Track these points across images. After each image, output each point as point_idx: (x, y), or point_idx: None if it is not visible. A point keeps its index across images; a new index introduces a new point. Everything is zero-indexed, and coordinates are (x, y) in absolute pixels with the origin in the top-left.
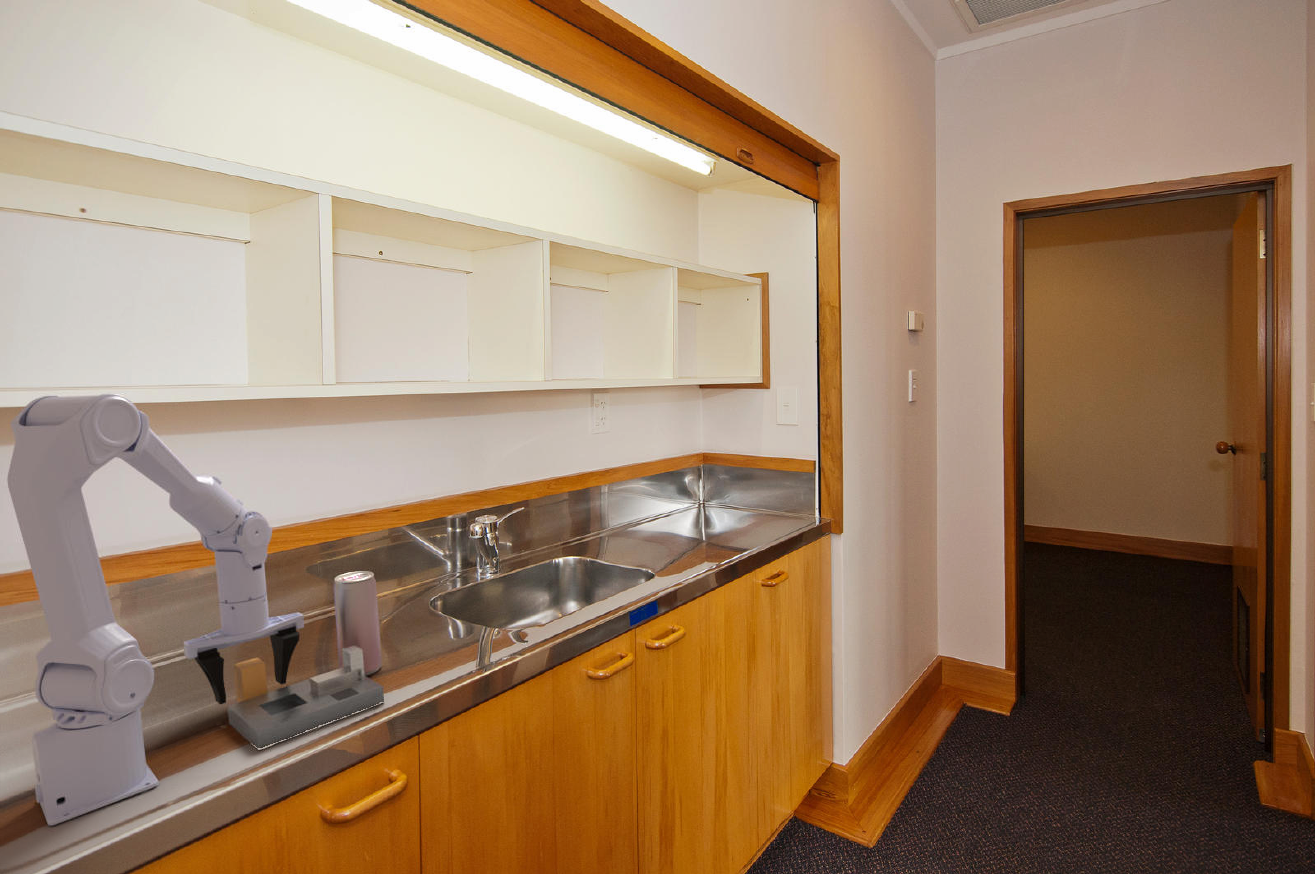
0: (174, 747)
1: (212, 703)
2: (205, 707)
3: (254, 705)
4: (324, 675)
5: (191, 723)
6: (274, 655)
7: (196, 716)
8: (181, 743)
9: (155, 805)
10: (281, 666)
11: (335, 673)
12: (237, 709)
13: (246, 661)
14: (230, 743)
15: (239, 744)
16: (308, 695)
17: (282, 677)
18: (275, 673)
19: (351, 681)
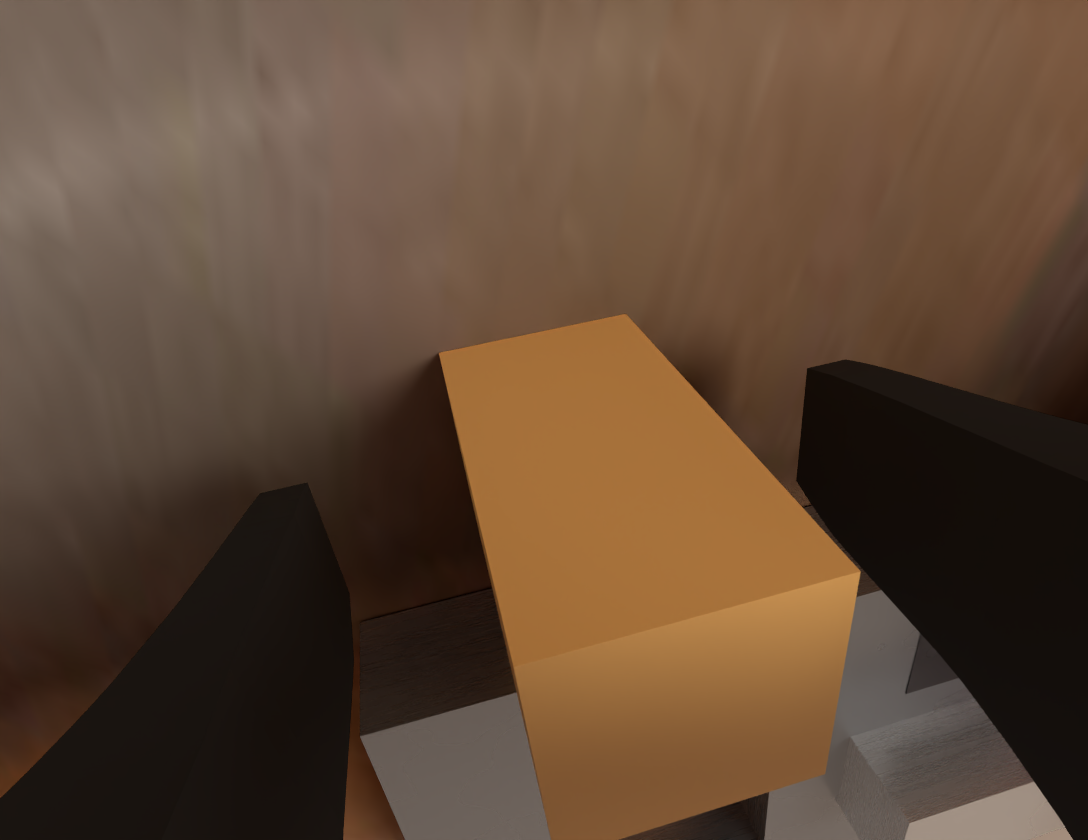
0: (26, 762)
1: (205, 103)
2: (137, 172)
3: (530, 792)
4: (979, 820)
5: (62, 478)
6: (1045, 496)
7: (78, 354)
8: (63, 734)
9: None
10: (923, 614)
11: (1030, 814)
12: (422, 806)
13: (694, 648)
14: (358, 817)
15: (398, 835)
16: (808, 784)
17: (845, 536)
18: (856, 409)
19: None
